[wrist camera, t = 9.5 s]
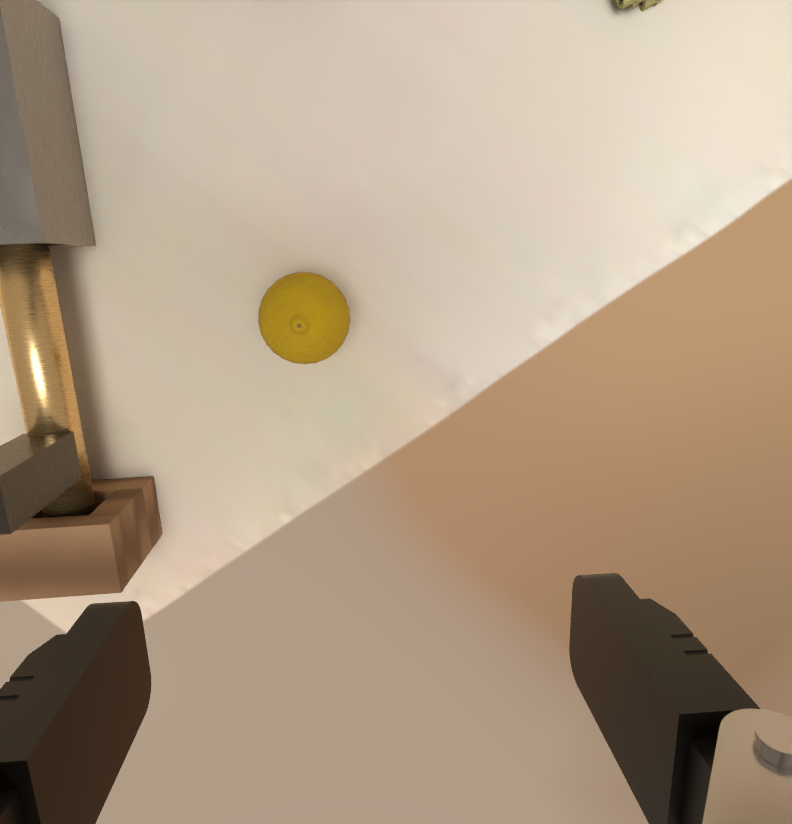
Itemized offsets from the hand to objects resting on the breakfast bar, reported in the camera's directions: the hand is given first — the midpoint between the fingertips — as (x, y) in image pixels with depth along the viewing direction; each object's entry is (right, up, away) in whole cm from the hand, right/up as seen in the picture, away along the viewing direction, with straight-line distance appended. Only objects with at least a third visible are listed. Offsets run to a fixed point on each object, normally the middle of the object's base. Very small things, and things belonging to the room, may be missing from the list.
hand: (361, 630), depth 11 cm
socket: (-21, -3, +32) cm, 38 cm away
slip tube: (-21, +6, +27) cm, 35 cm away
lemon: (-5, +11, +30) cm, 32 cm away
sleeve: (-22, +21, +26) cm, 40 cm away
